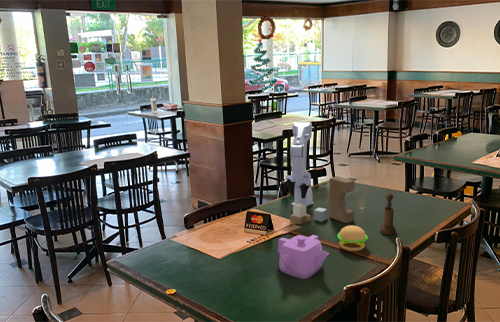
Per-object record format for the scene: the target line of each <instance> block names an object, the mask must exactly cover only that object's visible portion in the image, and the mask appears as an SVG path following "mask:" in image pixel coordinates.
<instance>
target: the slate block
mask: <svg viewBox="0 0 500 322" xmlns="http://www.w3.org/2000/svg"><path fill="white" fill-rule="evenodd" d="M327 219H328V208H323V207H317V208H315V209H314V210H313V220H314V221H318V222H324V221H326V220H327Z"/></svg>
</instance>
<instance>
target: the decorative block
mask: <svg viewBox="0 0 500 322" xmlns="http://www.w3.org/2000/svg"><path fill="white" fill-rule="evenodd" d="M355 185H356V184H355V180H354V179H348V178H345V177H341V176H333V177H331V178H329V196H328V197H329V201H328V203H329V204H328V205H329V211H328V212H329V213H328V215H329V218H330V219H333V220H335V221H338V222H341V223H344V224H349V223H351V222H354V220H355V219H354V214H355V211H354V210H352V209H350V208H349V207H348V205H347V203H346V195H347V193H350V192H354V191H355Z"/></svg>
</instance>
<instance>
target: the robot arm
mask: <svg viewBox="0 0 500 322" xmlns="http://www.w3.org/2000/svg"><path fill="white" fill-rule="evenodd" d="M312 131H313V124H312V122H310V121H309V122H295V121H294V122H293V123H292V135H293V141H292V145H291V146H290V148H289V150H290V151H289V152H290V154H289V156H290V161H291V175H285V185H286V186H287V188H288V192H289V194H290V196H293V195H294V202H292V203H291V205H292V206H293V205H296V204H299V203H300V204H303V205H306V207H309V206H310V205H311V206H312V205H314V204H315V202H313V190H312V188H311V187H312V176H311V173H310V172H309V171H307V149H308V148H307V145H308V141H309V140H311V139H312V134H313V133H312Z"/></svg>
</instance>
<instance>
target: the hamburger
mask: <svg viewBox="0 0 500 322" xmlns="http://www.w3.org/2000/svg"><path fill="white" fill-rule="evenodd" d="M337 239H338V240H339V245H340V247H341V248H342V249H343V250H346V251H348V252H359V251H361V250H364V248H365V246H366V241H367V240H368V235H367V234H366V232H365V230H364V229H362V228H361V227H359V226H358V225H346V226H344V227H343V228H341V230H340V231H339V232H338V233H337Z"/></svg>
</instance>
